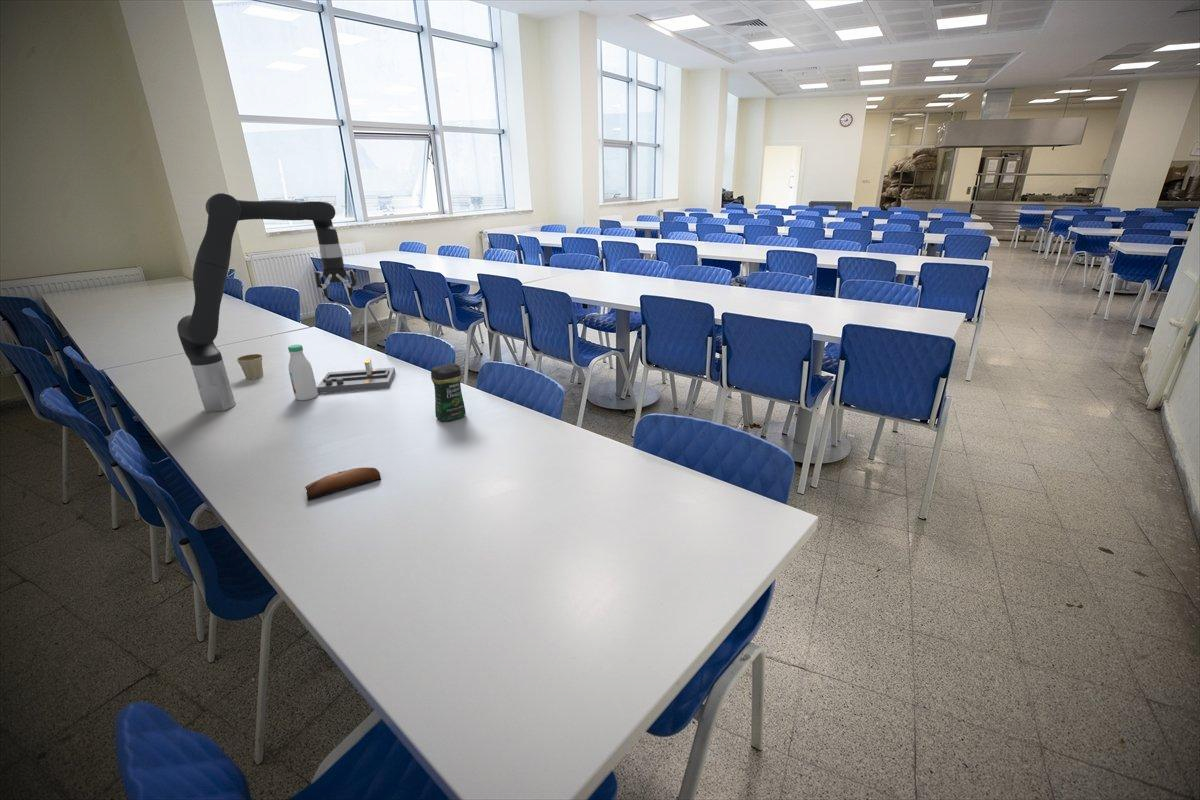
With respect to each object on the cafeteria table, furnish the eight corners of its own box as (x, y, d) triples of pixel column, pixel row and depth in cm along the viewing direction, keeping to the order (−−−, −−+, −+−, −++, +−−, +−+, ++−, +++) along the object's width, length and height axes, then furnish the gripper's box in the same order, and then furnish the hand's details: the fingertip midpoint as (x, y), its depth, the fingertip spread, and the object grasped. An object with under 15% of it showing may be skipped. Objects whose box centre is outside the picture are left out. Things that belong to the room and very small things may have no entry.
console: (389, 387, 209) (387, 377, 208) (317, 393, 204) (315, 383, 203) (395, 372, 226) (393, 363, 224) (329, 378, 221) (327, 368, 219)
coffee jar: (443, 424, 177) (436, 371, 170) (433, 417, 182) (425, 365, 175) (469, 416, 183) (464, 364, 176) (459, 409, 188) (452, 359, 181)
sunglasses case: (373, 467, 150) (373, 453, 146) (381, 487, 147) (381, 474, 142) (302, 487, 141) (299, 473, 136) (309, 509, 138) (306, 496, 133)
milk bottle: (322, 393, 204) (311, 343, 197) (310, 401, 197) (298, 349, 189) (303, 393, 205) (291, 342, 197) (290, 400, 198) (277, 348, 190)
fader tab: (371, 377, 213) (369, 362, 211) (367, 377, 213) (364, 362, 210) (373, 373, 217) (370, 359, 215) (369, 373, 217) (366, 359, 214)
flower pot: (259, 381, 218) (253, 360, 215) (236, 381, 219) (230, 360, 215) (272, 373, 227) (267, 353, 224) (250, 373, 227) (245, 354, 224)
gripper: (309, 257, 203) (318, 300, 209) (349, 256, 206) (356, 298, 212) (314, 255, 210) (322, 296, 216) (353, 253, 212) (360, 294, 219)
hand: (339, 297), depth 214 cm, fingers open, 8 cm apart
